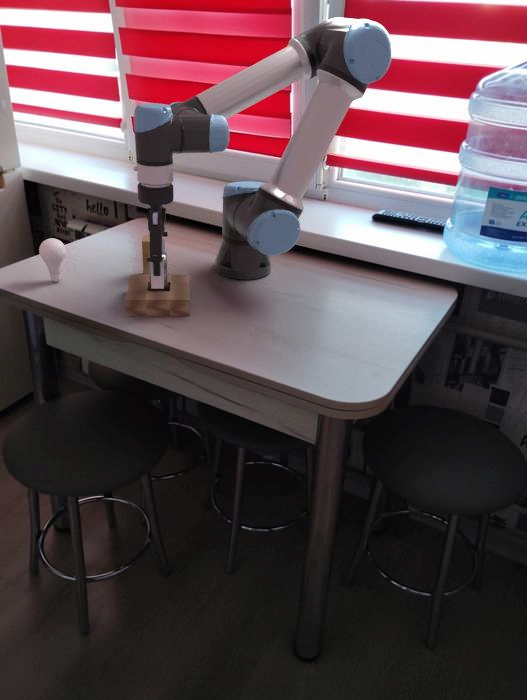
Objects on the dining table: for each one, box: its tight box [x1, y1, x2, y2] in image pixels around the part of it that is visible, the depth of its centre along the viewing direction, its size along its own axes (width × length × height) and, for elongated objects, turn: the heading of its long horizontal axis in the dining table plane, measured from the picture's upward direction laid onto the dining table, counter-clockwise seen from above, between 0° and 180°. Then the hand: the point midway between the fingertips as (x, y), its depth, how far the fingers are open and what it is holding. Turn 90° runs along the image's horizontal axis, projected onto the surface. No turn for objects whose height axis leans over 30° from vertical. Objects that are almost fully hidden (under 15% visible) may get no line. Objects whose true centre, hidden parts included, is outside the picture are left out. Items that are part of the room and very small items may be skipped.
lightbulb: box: [38, 237, 67, 283], centre depth 144 cm, size 6×6×11 cm
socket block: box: [125, 273, 191, 317], centre depth 139 cm, size 14×14×4 cm
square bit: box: [141, 235, 150, 274], centre depth 150 cm, size 4×4×10 cm
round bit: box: [149, 251, 168, 291], centre depth 137 cm, size 4×4×12 cm
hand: (158, 275), depth 136 cm, fingers open, 13 cm apart
